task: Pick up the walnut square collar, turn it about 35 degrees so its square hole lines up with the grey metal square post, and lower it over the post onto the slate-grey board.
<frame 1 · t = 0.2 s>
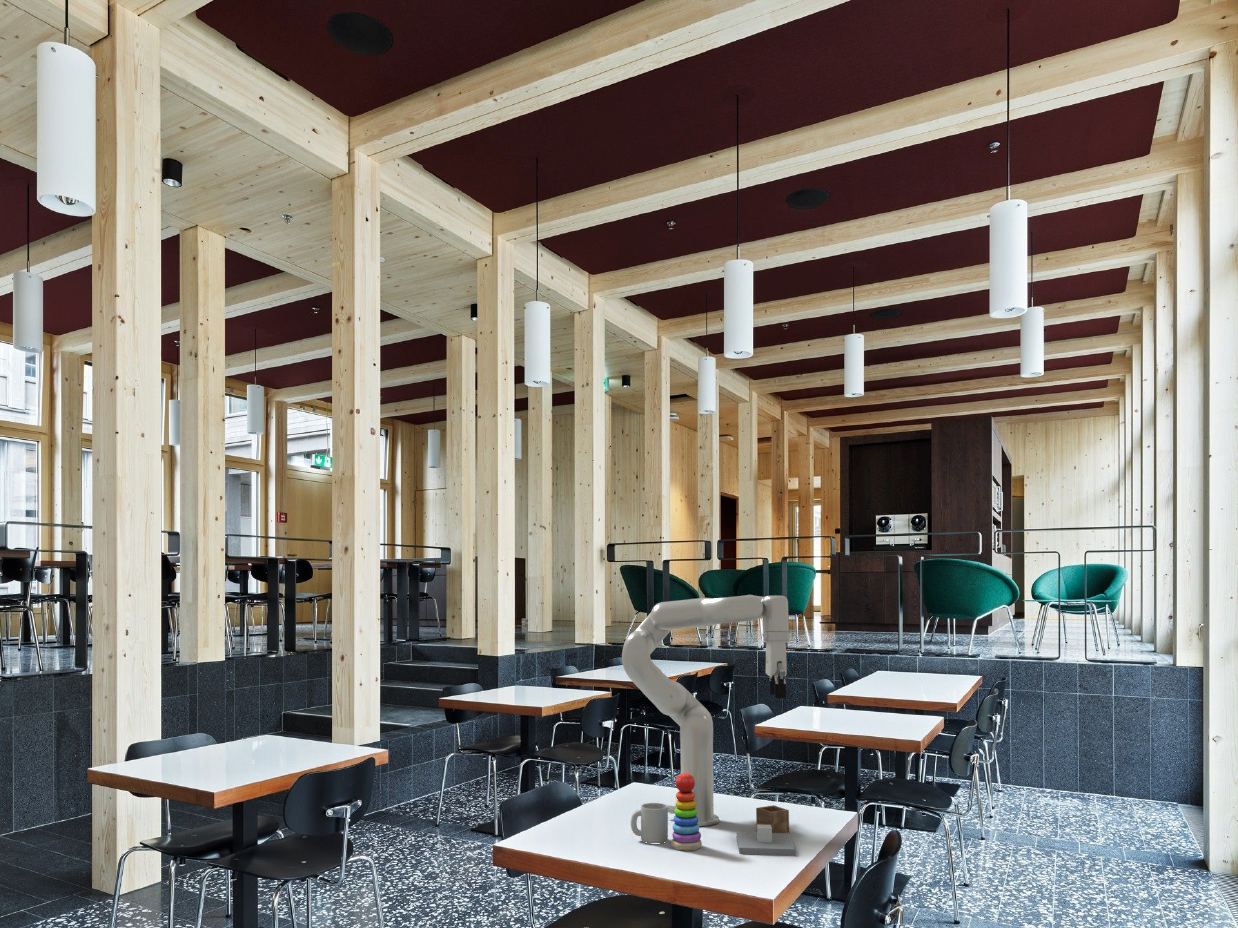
hand: (777, 696, 255), 36 cm above the table, tool pointing down, fingers open, 9 cm apart
board: (764, 846, 227), on the table
stacking toy: (686, 847, 226), on the table
cup: (649, 841, 231), on the table
collar: (772, 831, 241), on the table
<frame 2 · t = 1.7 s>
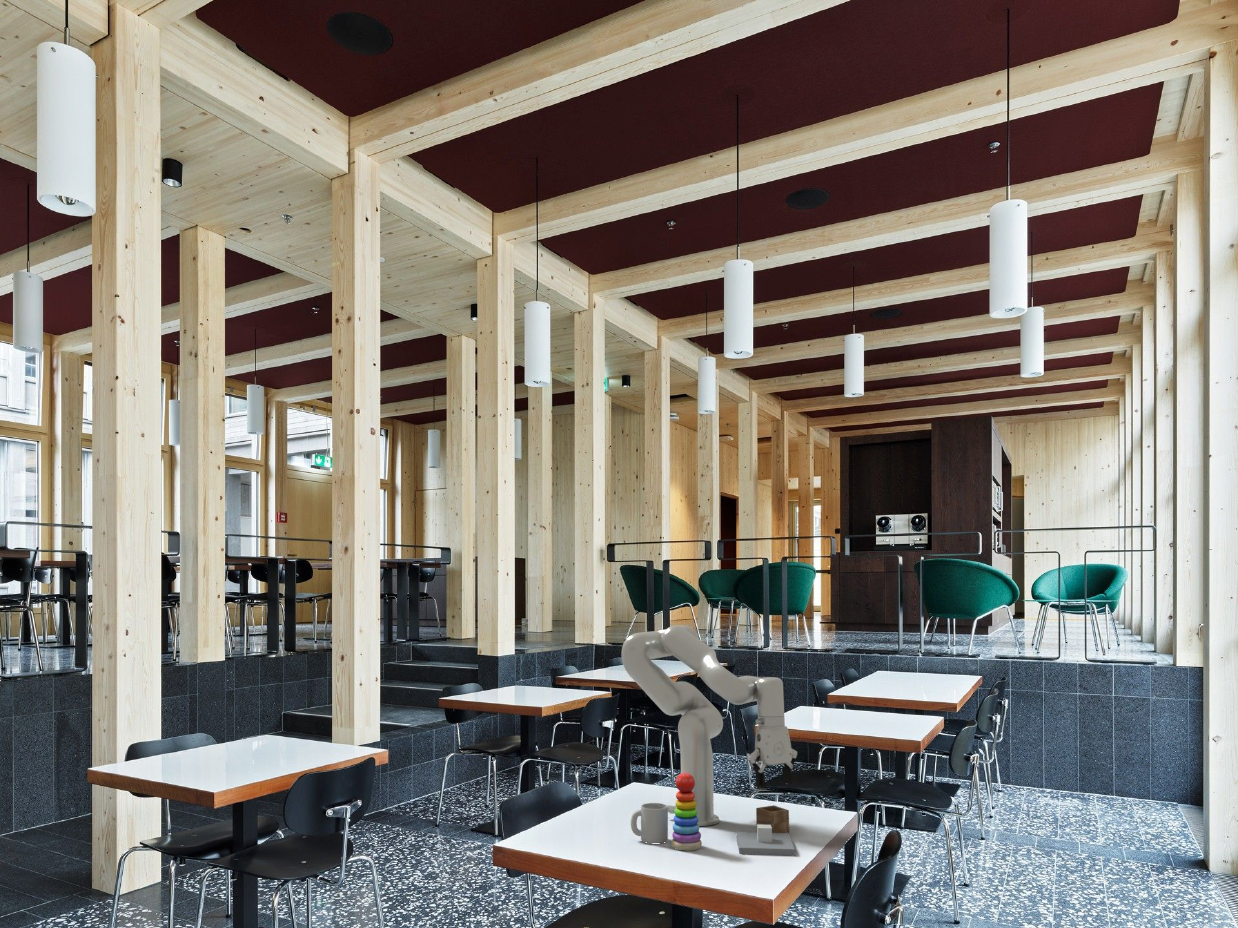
hand: (774, 784, 243), 13 cm above the table, tool pointing down, fingers open, 9 cm apart
nothing on the table moved.
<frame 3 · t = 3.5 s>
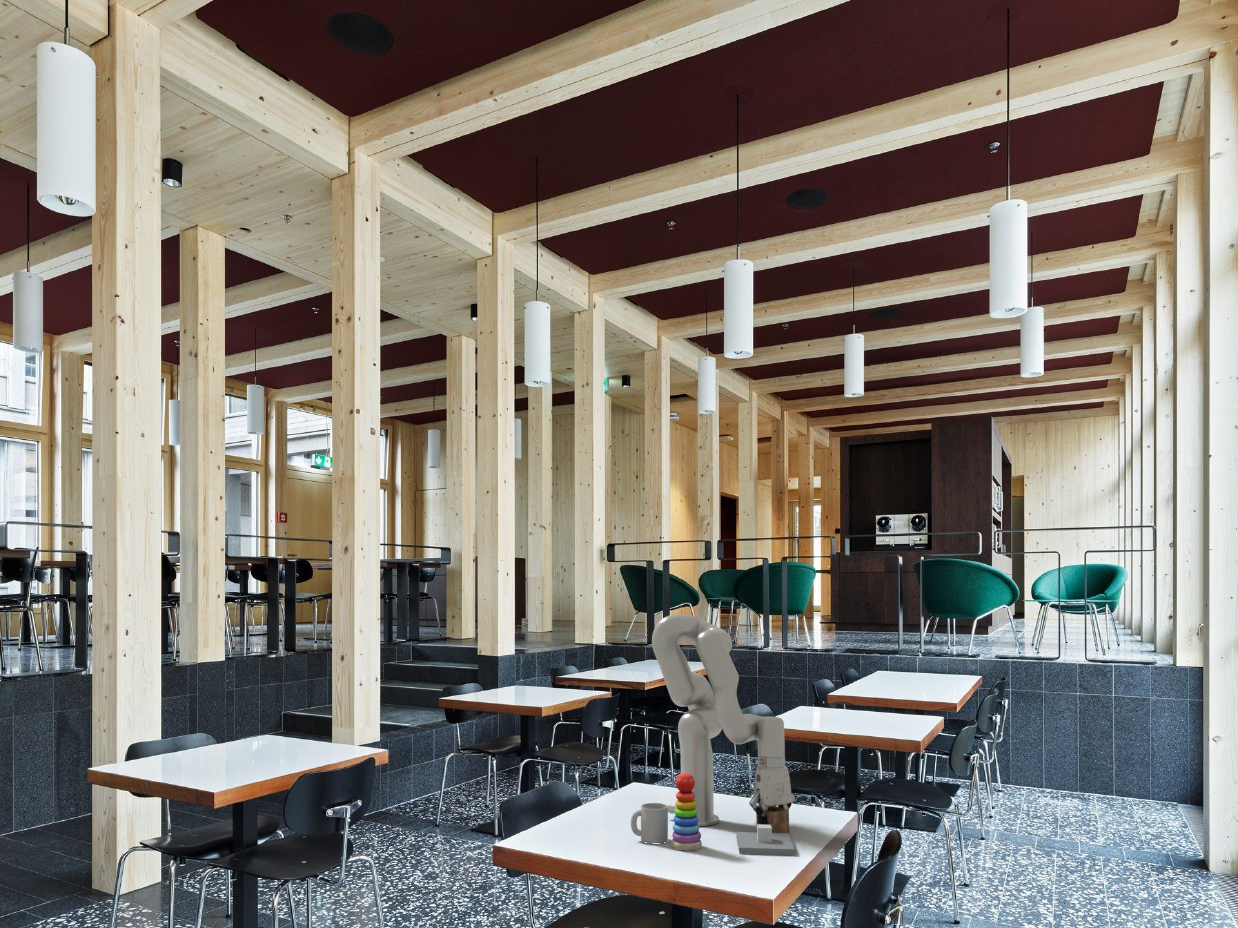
hand: (772, 828, 241), 1 cm above the table, tool pointing down, fingers closed on collar, 6 cm apart
collar: (772, 831, 241), on the table, touching gripper
everything else where it was.
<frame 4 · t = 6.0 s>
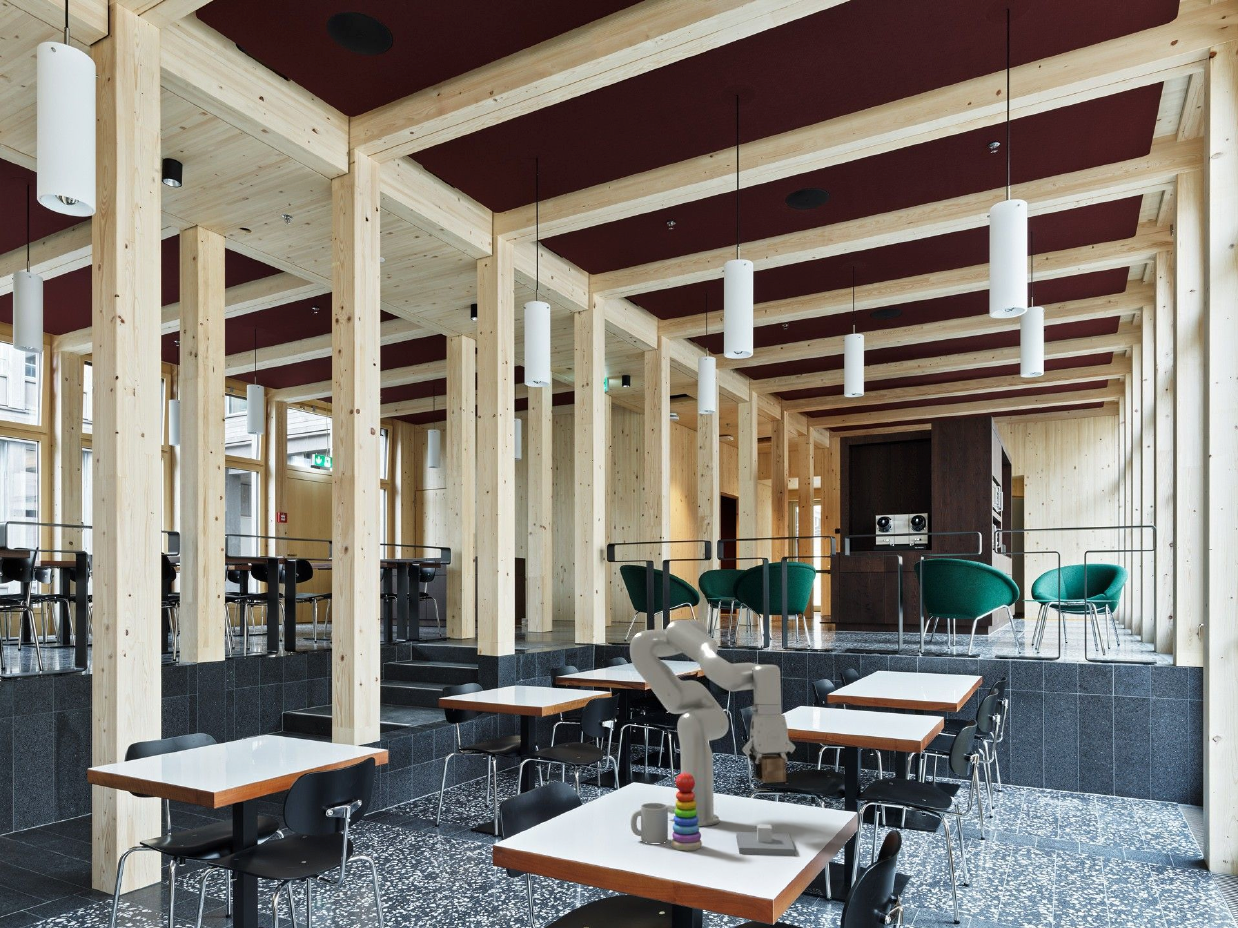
hand: (769, 776, 238), 16 cm above the table, tool pointing down, fingers closed on collar, 6 cm apart
collar: (770, 779, 238), point 15 cm above the table, touching gripper
everything else where it was.
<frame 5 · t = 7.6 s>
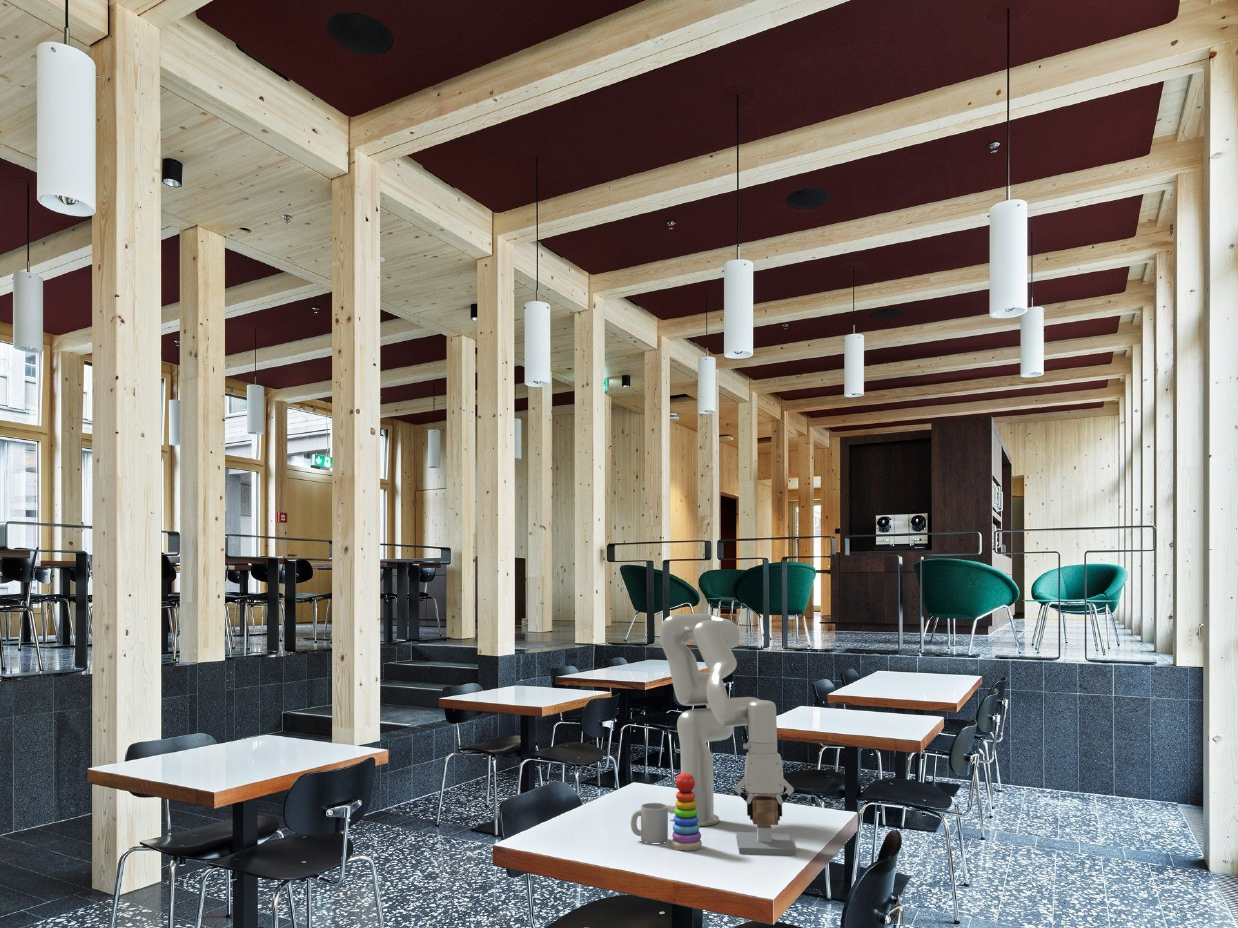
hand: (764, 818, 228), 7 cm above the table, tool pointing down, fingers closed on collar, 6 cm apart
collar: (764, 821, 228), point 6 cm above the table, touching gripper
everything else where it was.
when the fingers open (4 cm above the table, at t = 8.8 s): collar drops 1 cm, resting on board.
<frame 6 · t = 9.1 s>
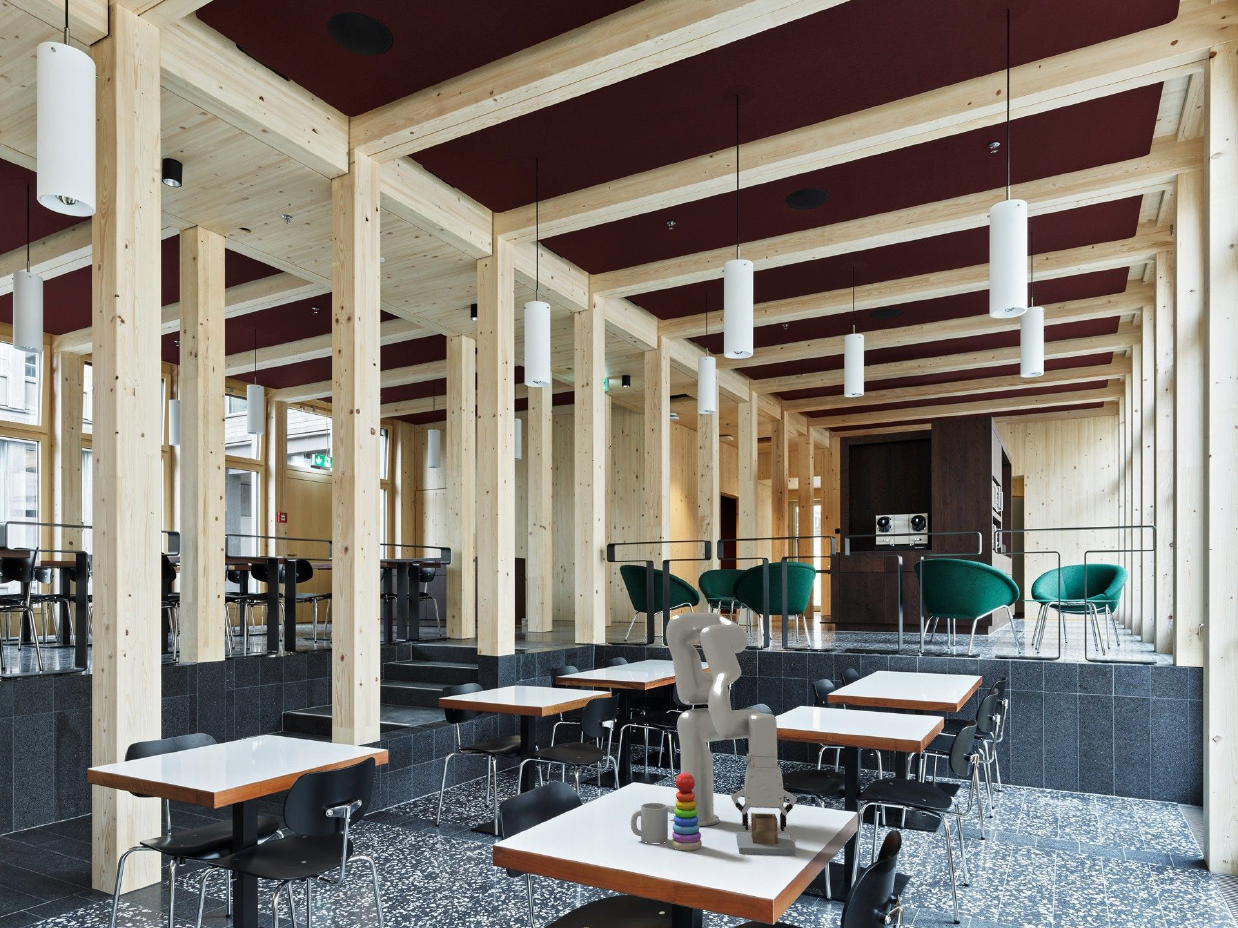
hand: (764, 829, 228), 4 cm above the table, tool pointing down, fingers open, 9 cm apart
collar: (764, 840, 227), point 1 cm above the table, touching board
everything else where it was.
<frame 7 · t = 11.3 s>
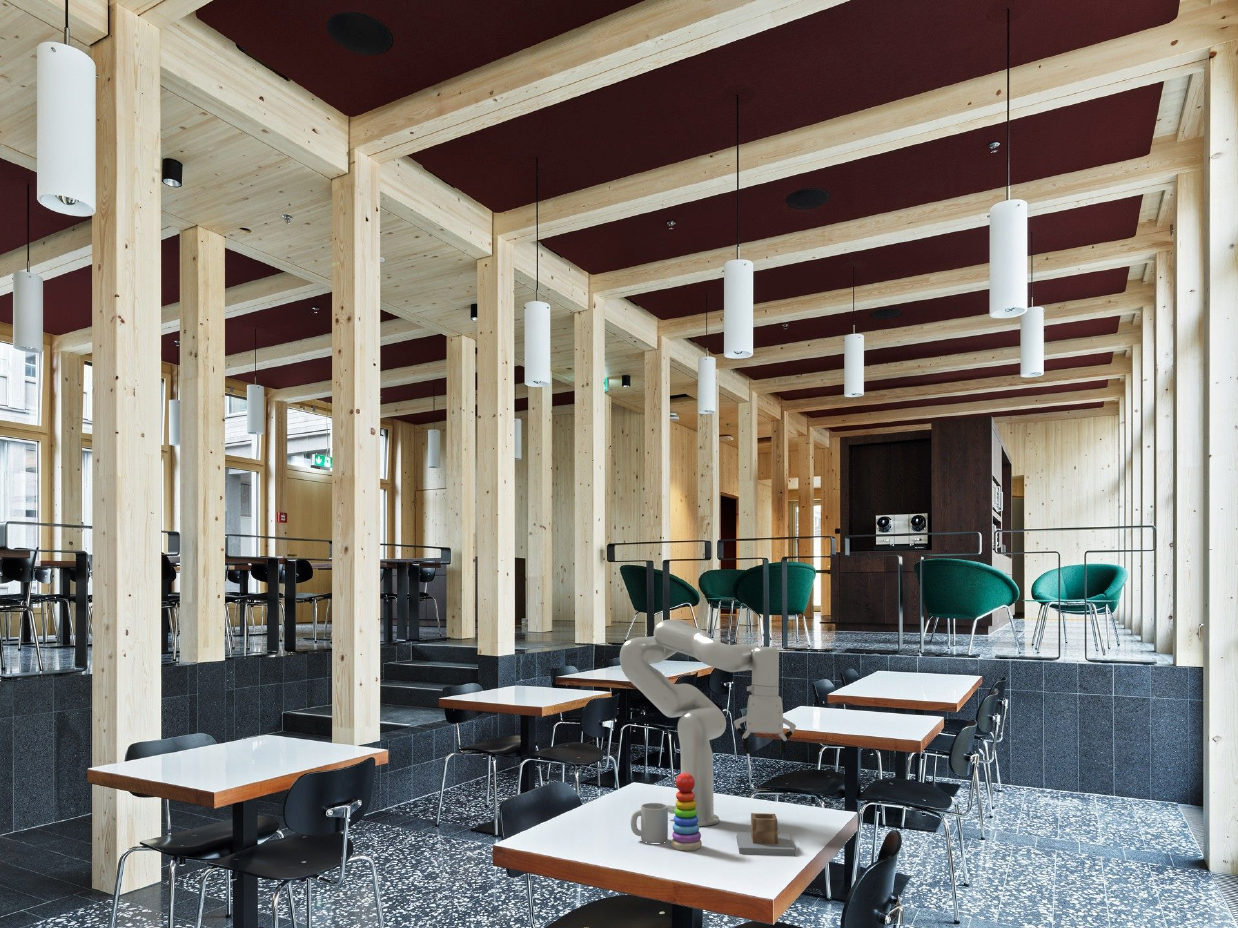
hand: (764, 753, 243), 21 cm above the table, tool pointing down, fingers open, 9 cm apart
nothing on the table moved.
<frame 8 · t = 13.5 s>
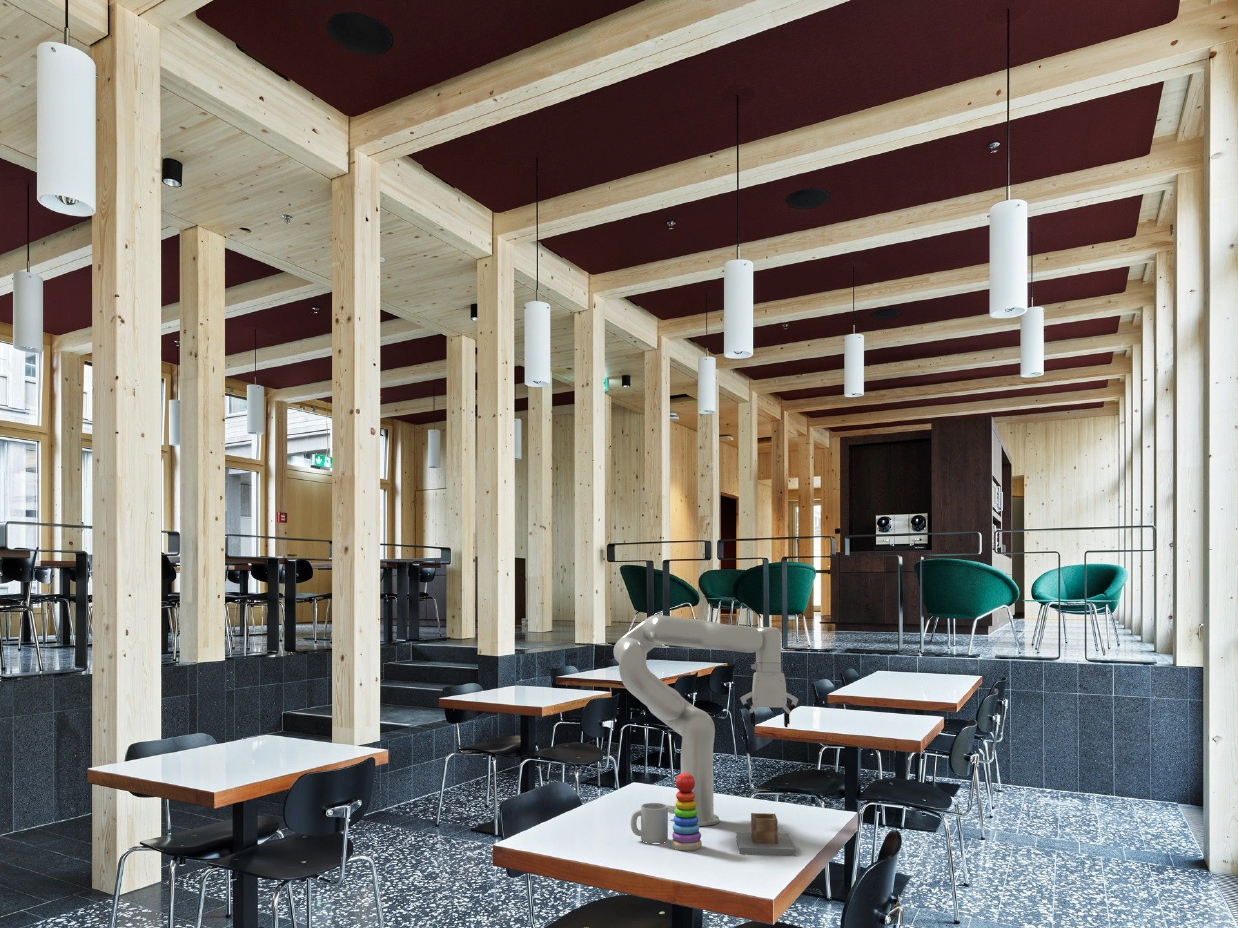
hand: (769, 726, 260), 26 cm above the table, tool pointing down, fingers open, 9 cm apart
nothing on the table moved.
at the end: collar 0.0 cm from the board (horizontally); collar point 1.5 cm above the table; collar tilted 0° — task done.
